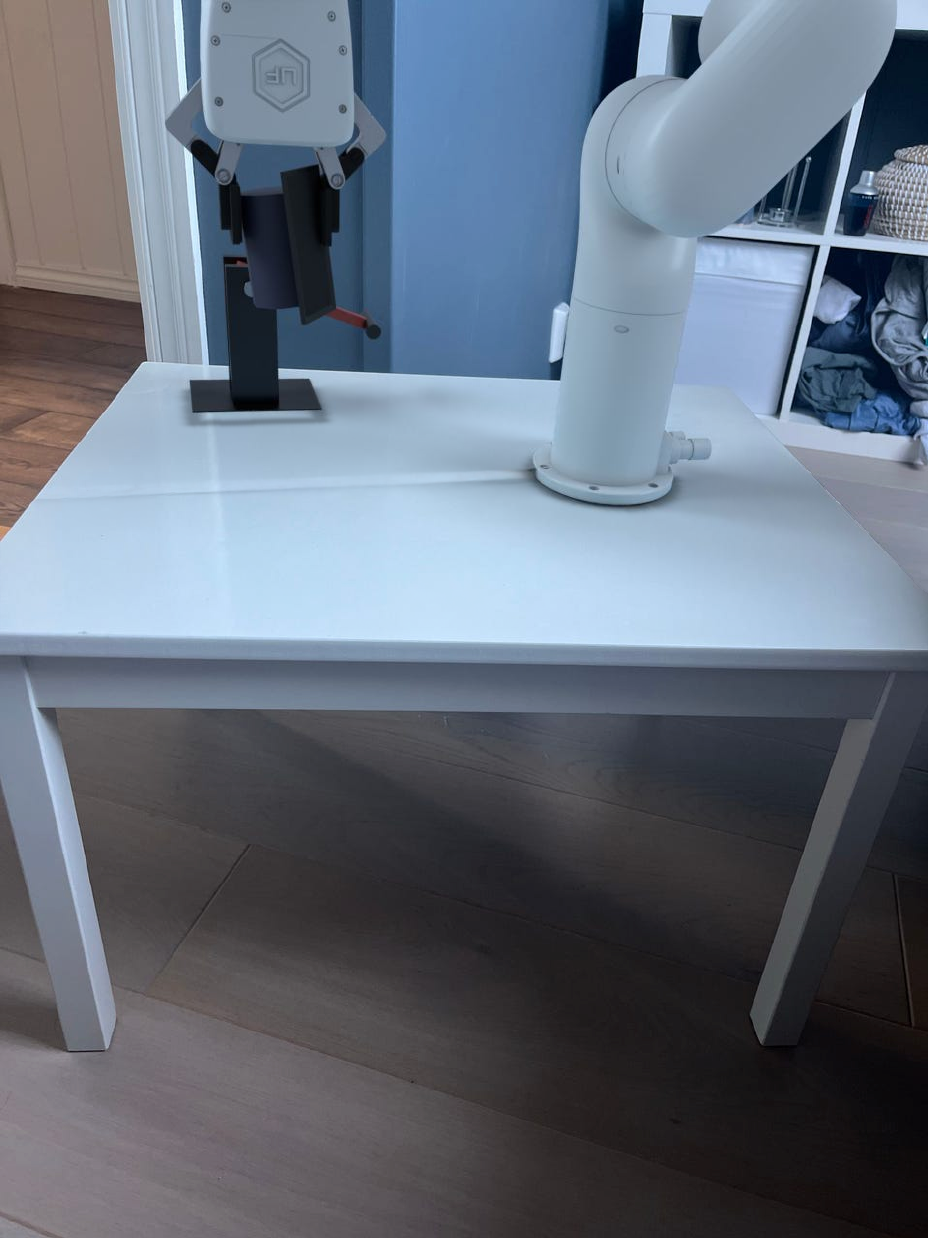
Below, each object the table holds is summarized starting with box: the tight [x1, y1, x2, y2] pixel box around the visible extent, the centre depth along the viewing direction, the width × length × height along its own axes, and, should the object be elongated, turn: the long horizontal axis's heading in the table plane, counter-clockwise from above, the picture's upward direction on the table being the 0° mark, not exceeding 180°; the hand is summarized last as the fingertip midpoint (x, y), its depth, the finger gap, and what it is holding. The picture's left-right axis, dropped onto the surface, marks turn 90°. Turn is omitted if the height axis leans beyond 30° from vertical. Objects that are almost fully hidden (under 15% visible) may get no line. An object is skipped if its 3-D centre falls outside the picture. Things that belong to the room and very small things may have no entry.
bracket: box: [189, 253, 322, 414], centre depth 93 cm, size 12×9×14 cm
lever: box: [237, 261, 382, 340], centre depth 92 cm, size 14×5×2 cm, turn 105°
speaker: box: [241, 163, 337, 326], centre depth 73 cm, size 8×6×10 cm
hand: (280, 239), depth 72 cm, fingers closed on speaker, 5 cm apart
